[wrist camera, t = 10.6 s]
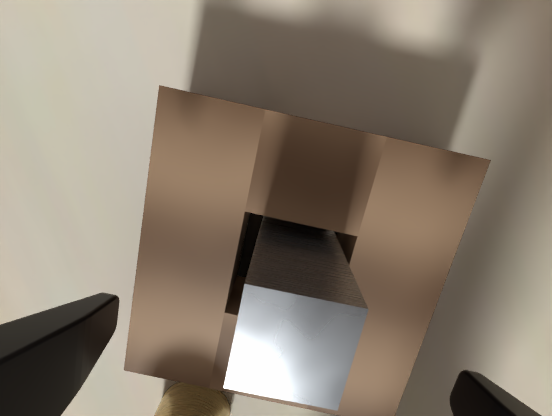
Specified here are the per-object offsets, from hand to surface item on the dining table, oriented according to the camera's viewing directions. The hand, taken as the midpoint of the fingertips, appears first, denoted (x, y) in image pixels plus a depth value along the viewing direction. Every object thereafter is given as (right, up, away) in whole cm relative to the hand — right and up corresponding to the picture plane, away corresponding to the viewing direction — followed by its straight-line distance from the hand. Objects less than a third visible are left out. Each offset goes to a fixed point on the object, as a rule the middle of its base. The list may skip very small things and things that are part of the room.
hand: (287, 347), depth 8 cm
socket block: (0, +2, +8) cm, 8 cm away
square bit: (0, +2, +8) cm, 8 cm away
